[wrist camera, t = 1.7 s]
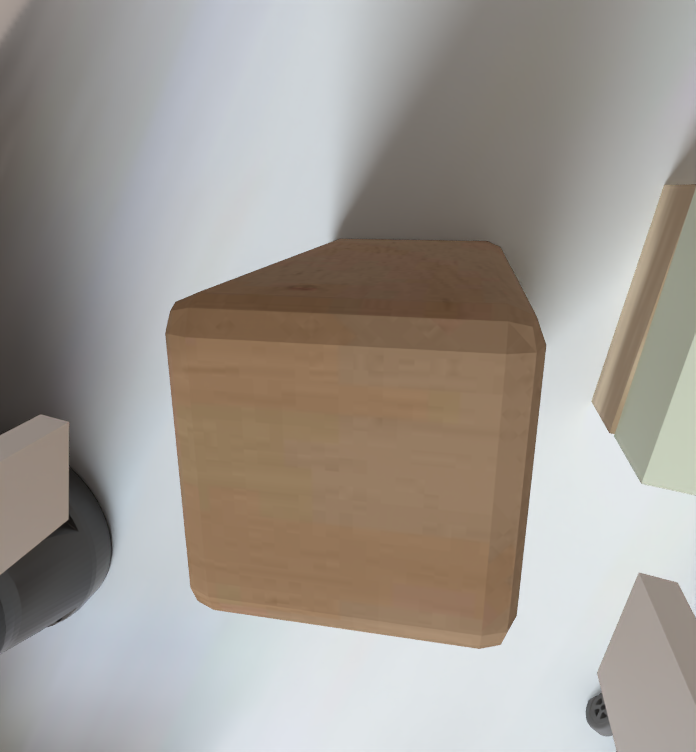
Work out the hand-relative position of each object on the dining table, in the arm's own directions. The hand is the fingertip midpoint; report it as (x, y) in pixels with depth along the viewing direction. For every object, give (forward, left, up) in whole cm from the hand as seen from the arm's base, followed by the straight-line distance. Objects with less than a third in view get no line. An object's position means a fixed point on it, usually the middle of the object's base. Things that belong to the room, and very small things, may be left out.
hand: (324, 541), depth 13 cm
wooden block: (0, 0, -23) cm, 23 cm away
